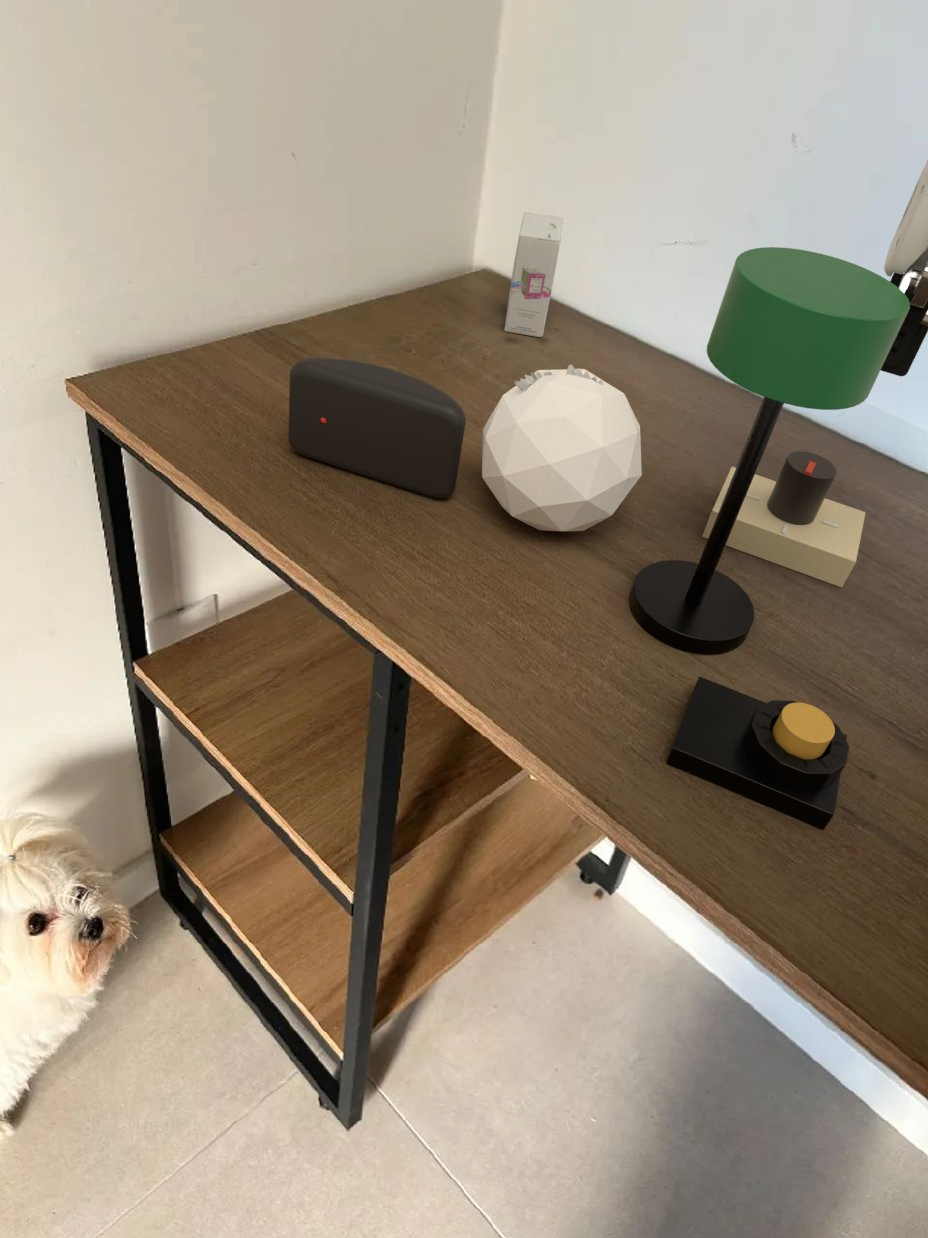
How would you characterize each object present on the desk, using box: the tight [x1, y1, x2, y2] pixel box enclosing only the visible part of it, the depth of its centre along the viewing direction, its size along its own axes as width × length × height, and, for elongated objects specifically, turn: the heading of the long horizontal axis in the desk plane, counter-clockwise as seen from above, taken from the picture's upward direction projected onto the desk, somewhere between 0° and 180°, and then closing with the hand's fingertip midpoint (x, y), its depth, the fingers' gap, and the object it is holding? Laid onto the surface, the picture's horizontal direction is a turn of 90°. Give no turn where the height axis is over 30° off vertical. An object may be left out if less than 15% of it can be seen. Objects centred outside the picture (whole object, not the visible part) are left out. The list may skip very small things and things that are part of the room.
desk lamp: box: [628, 246, 910, 656], centre depth 68 cm, size 11×11×28 cm
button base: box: [666, 675, 850, 831], centre depth 65 cm, size 11×8×4 cm
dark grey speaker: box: [287, 357, 467, 499], centre depth 83 cm, size 16×5×9 cm, turn 71°
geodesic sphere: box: [481, 364, 643, 532], centre depth 80 cm, size 15×14×14 cm
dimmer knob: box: [767, 450, 837, 525], centre depth 84 cm, size 4×4×5 cm
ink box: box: [503, 211, 564, 338], centre depth 112 cm, size 8×5×12 cm, turn 174°
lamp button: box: [773, 702, 835, 759], centre depth 63 cm, size 4×4×2 cm
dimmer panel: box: [701, 466, 866, 588], centre depth 86 cm, size 13×9×3 cm
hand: (888, 346), depth 72 cm, fingers open, 9 cm apart
